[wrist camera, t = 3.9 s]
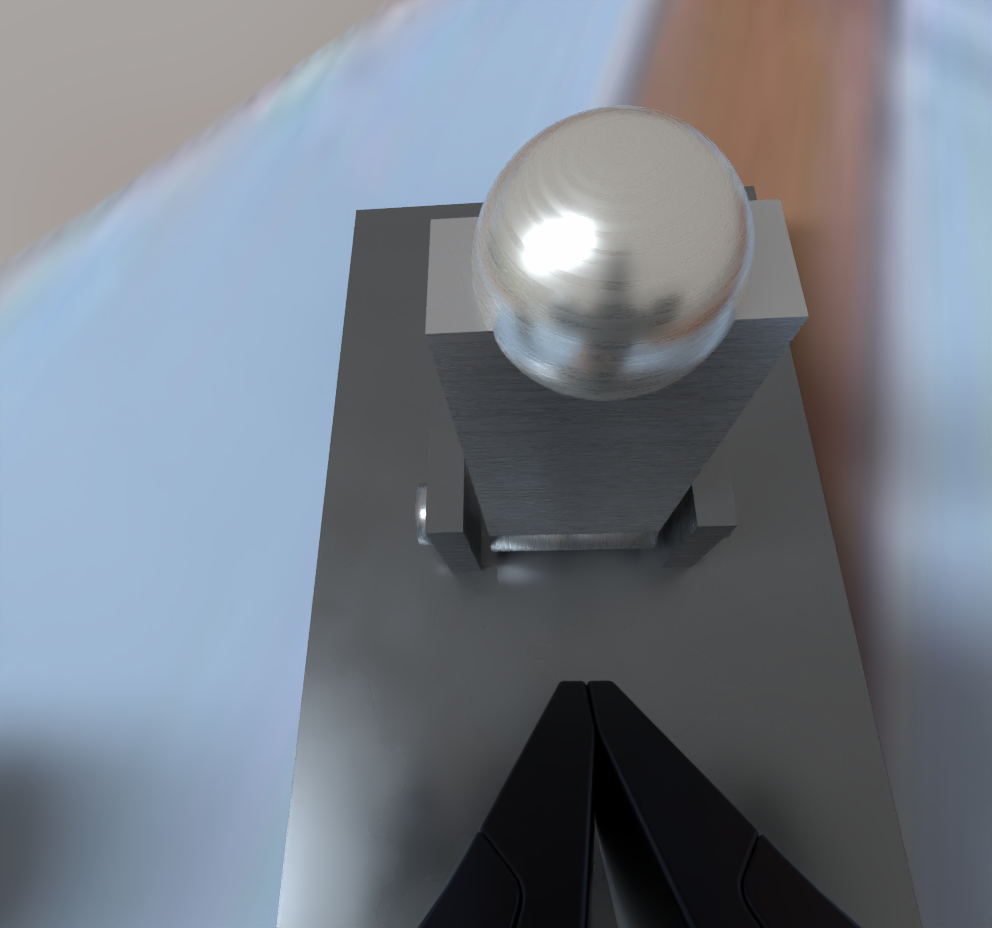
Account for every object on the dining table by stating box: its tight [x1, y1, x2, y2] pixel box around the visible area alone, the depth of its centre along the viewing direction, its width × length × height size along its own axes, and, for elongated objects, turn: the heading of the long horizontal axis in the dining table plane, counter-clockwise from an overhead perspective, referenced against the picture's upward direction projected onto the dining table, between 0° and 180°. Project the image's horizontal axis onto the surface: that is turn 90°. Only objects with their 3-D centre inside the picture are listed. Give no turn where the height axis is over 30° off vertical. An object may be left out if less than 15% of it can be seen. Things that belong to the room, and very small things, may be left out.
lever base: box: [276, 186, 922, 928], centre depth 16 cm, size 24×14×7 cm, turn 0°
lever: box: [425, 106, 809, 552], centre depth 10 cm, size 3×4×12 cm
